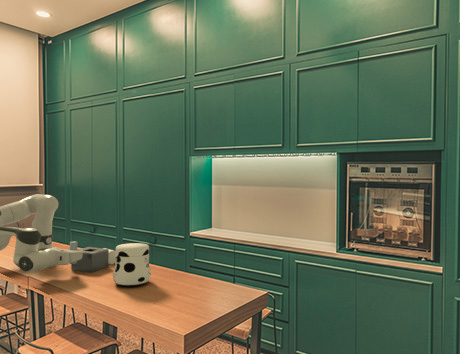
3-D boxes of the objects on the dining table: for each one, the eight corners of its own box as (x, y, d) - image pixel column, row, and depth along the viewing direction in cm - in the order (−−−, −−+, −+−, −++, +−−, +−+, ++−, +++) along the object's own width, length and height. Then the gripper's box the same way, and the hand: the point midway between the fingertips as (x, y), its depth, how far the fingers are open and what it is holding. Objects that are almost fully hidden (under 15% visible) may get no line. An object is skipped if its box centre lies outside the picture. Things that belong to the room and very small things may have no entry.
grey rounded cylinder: (67, 263, 188) (68, 242, 187) (73, 262, 191) (73, 241, 191) (73, 264, 186) (73, 243, 186) (78, 262, 190) (78, 241, 190)
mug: (106, 265, 207) (106, 251, 207) (97, 262, 214) (97, 249, 214) (124, 262, 216) (124, 248, 216) (115, 259, 223) (115, 246, 223)
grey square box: (71, 269, 197) (71, 251, 197) (88, 264, 209) (88, 247, 209) (91, 272, 192) (92, 253, 192) (108, 266, 204) (108, 249, 204)
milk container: (158, 282, 177) (158, 245, 177) (131, 291, 162) (132, 251, 162) (132, 276, 186) (132, 241, 186) (105, 285, 171) (105, 246, 171)
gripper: (37, 261, 180) (59, 255, 193) (69, 265, 173) (90, 259, 186) (37, 248, 180) (59, 243, 193) (69, 252, 173) (90, 246, 186)
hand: (74, 251), depth 189 cm, fingers closed on grey rounded cylinder, 4 cm apart
